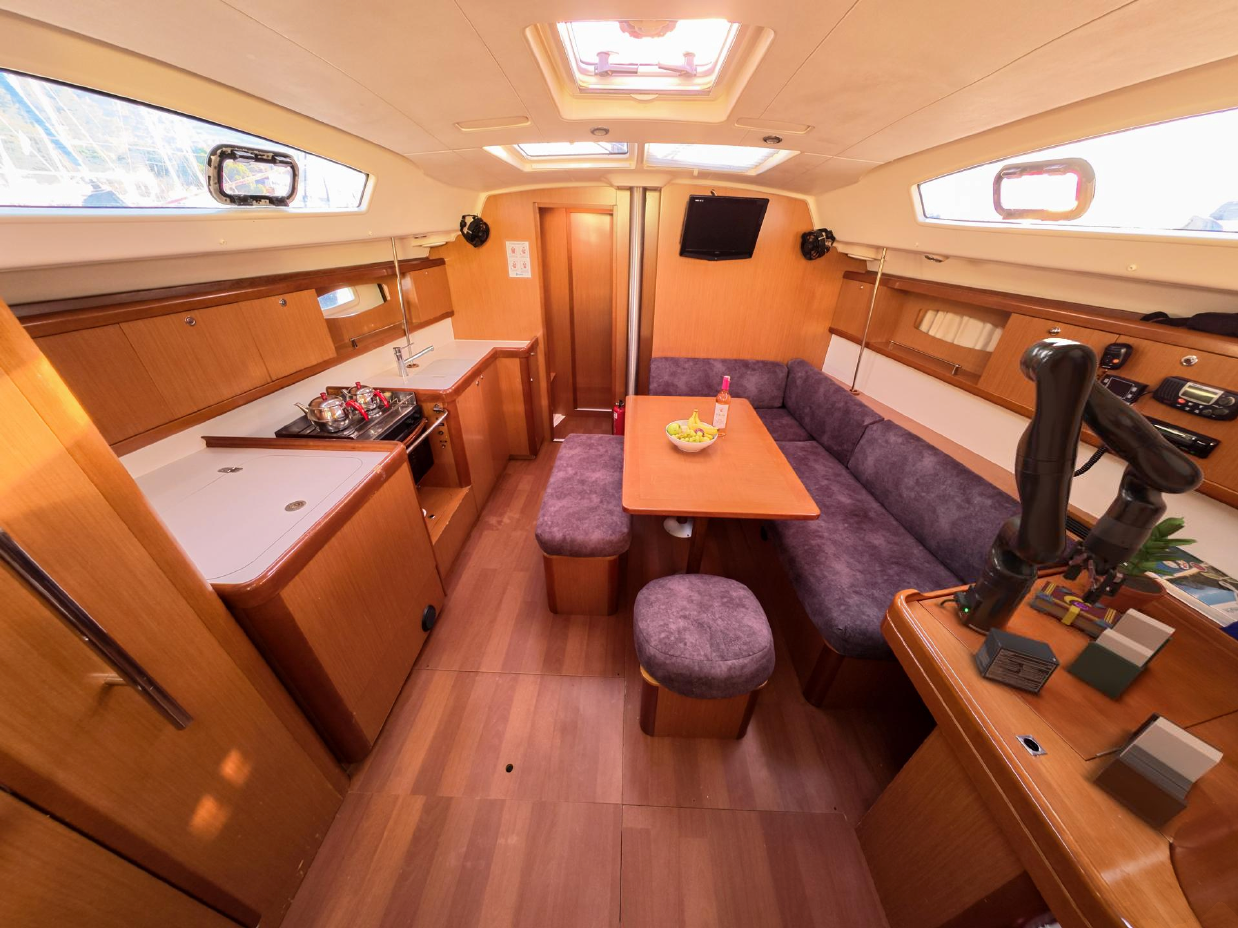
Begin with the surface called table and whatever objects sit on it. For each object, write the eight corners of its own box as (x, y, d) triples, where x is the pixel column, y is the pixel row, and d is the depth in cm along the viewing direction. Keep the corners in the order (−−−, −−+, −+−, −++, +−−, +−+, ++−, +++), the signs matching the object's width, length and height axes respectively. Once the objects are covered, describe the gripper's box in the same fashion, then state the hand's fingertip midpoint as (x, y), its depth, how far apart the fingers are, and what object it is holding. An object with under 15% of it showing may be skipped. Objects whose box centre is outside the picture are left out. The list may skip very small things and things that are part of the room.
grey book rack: (1156, 830, 68) (1187, 806, 65) (1092, 781, 75) (1117, 757, 71) (1192, 774, 76) (1221, 750, 73) (1131, 734, 83) (1155, 711, 79)
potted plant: (1122, 588, 122) (1187, 505, 108) (1161, 625, 109) (1241, 537, 95) (1060, 575, 126) (1115, 494, 113) (1091, 609, 113) (1157, 523, 100)
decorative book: (1039, 590, 120) (1048, 577, 118) (1118, 627, 108) (1129, 613, 106) (1028, 606, 114) (1036, 593, 112) (1110, 646, 102) (1122, 633, 100)
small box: (1026, 672, 95) (1049, 642, 90) (1038, 696, 90) (1063, 665, 85) (972, 655, 99) (991, 625, 94) (980, 677, 93) (1001, 646, 89)
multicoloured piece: (1114, 699, 89) (1150, 661, 83) (1067, 670, 96) (1097, 632, 90) (1145, 666, 97) (1180, 629, 91) (1100, 641, 104) (1129, 604, 98)
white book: (1171, 799, 72) (1218, 762, 66) (1116, 760, 77) (1155, 723, 72) (1177, 790, 73) (1223, 754, 67) (1122, 752, 78) (1160, 716, 73)
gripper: (1077, 515, 96) (1043, 567, 103) (1113, 550, 84) (1072, 605, 91) (1119, 523, 93) (1081, 576, 100) (1163, 560, 81) (1116, 616, 89)
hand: (1077, 590), depth 96 cm, fingers open, 8 cm apart
